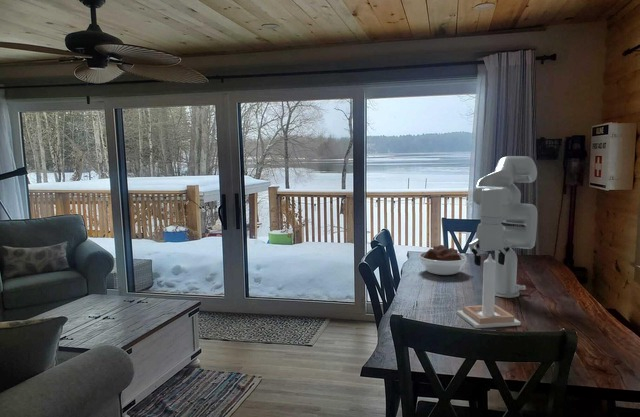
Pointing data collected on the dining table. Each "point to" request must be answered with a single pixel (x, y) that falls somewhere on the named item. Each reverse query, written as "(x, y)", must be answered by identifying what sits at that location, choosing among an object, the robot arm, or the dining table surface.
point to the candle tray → (483, 322)
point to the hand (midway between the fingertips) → (489, 264)
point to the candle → (488, 288)
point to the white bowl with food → (442, 260)
